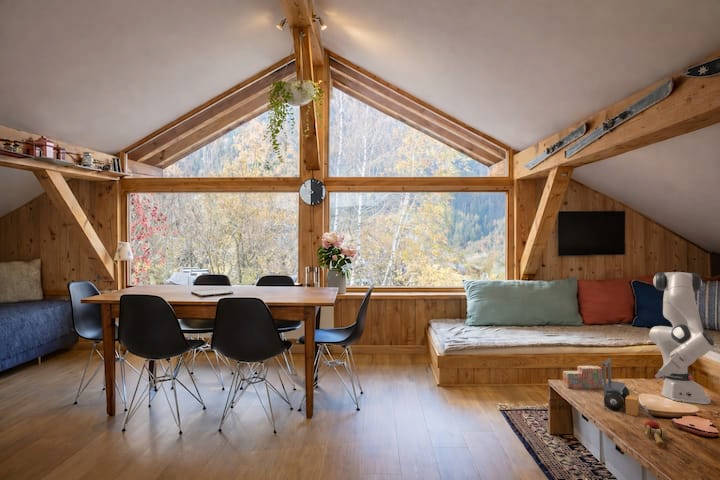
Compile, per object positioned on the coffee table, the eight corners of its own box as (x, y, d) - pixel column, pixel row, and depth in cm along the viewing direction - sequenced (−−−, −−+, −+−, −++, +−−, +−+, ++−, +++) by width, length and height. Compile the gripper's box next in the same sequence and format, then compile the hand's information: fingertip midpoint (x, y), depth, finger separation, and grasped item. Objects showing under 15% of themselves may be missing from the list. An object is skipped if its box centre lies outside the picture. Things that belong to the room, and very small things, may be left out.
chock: (638, 412, 229) (638, 397, 229) (637, 415, 225) (636, 400, 225) (627, 410, 232) (627, 395, 232) (626, 413, 228) (625, 398, 228)
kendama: (673, 452, 188) (661, 430, 205) (670, 438, 188) (659, 417, 205) (653, 453, 191) (642, 430, 208) (649, 439, 191) (639, 418, 208)
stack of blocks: (567, 389, 269) (567, 368, 269) (563, 385, 275) (562, 365, 275) (603, 388, 268) (602, 368, 269) (597, 385, 275) (597, 365, 275)
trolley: (630, 401, 245) (628, 359, 246) (623, 412, 229) (621, 367, 230) (610, 397, 252) (609, 356, 252) (602, 408, 235) (601, 364, 236)
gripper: (677, 349, 225) (655, 365, 231) (672, 357, 209) (648, 374, 215) (688, 359, 222) (665, 375, 228) (684, 368, 206) (660, 385, 212)
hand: (657, 374), depth 221 cm, fingers open, 8 cm apart
